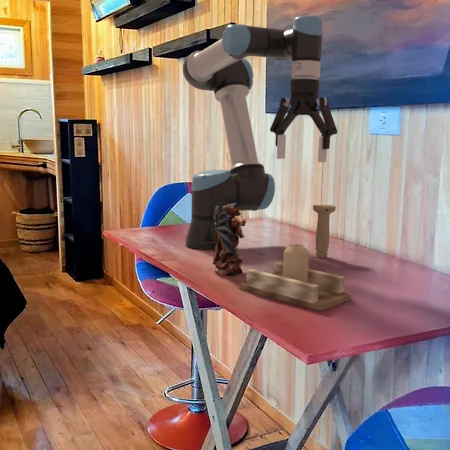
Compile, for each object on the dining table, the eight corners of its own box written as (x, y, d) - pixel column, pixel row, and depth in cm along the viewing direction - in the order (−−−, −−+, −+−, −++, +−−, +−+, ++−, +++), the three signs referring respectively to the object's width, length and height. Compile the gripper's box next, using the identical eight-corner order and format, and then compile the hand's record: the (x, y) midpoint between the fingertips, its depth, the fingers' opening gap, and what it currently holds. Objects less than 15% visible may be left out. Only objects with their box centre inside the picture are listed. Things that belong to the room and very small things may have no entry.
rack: (239, 288, 129) (240, 268, 129) (271, 279, 138) (272, 260, 137) (320, 311, 115) (321, 288, 114) (351, 299, 123) (352, 278, 123)
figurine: (258, 269, 147) (256, 200, 144) (246, 278, 138) (244, 205, 136) (220, 267, 151) (217, 200, 148) (206, 275, 143) (203, 204, 140)
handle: (334, 258, 163) (337, 207, 160) (313, 258, 162) (316, 207, 159) (329, 255, 167) (332, 204, 165) (308, 255, 166) (310, 204, 164)
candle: (301, 293, 122) (303, 248, 121) (278, 289, 125) (280, 245, 123) (310, 288, 127) (313, 244, 125) (288, 284, 130) (290, 241, 128)
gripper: (259, 79, 154) (256, 157, 157) (338, 76, 137) (332, 164, 140) (276, 81, 159) (273, 157, 163) (354, 78, 142) (348, 163, 146)
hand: (300, 160), depth 152 cm, fingers open, 13 cm apart
